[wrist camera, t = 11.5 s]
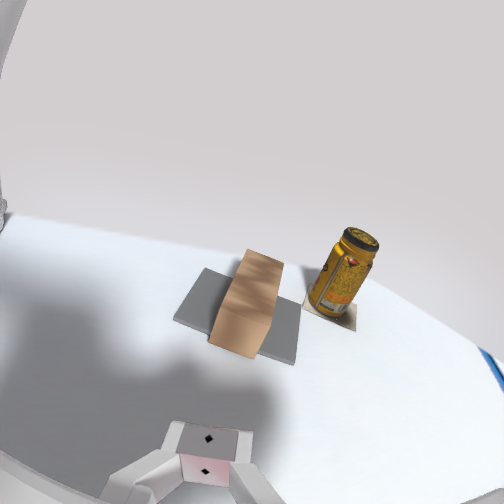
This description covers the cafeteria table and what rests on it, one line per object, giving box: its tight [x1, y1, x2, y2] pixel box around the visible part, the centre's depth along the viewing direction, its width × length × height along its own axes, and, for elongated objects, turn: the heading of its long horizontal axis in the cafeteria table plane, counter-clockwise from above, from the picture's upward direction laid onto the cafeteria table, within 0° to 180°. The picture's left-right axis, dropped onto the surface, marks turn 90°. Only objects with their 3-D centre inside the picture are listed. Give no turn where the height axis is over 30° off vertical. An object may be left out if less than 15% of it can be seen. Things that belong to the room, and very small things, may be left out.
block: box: [208, 249, 284, 360], centre depth 35 cm, size 5×5×13 cm
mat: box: [173, 268, 301, 366], centre depth 37 cm, size 14×11×1 cm
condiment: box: [302, 227, 379, 331], centre depth 42 cm, size 7×8×12 cm
